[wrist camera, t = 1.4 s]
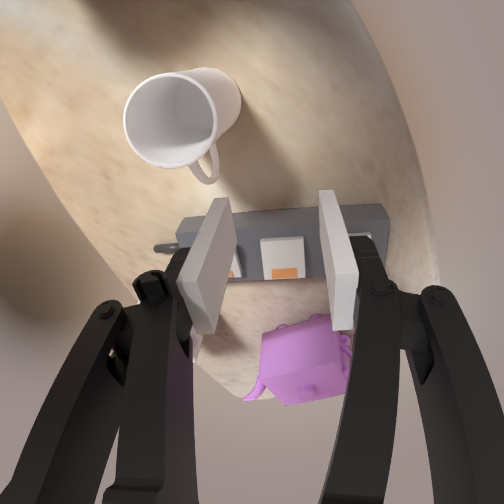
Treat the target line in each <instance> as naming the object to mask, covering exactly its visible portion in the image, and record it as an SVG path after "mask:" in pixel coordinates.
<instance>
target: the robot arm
mask: <svg viewBox="0 0 504 504" xmlns="http://www.w3.org/2000/svg"><path fill="white" fill-rule="evenodd" d="M318 198H319V224H320V241H321V247H322V253H323V260H324V267H325V274H326V281H327V288H328V296H329V304H330V312H331V321H332V330H333V331H338V330H351V329H353V321H354V326H355V334H354V340H353V346H352V355H351V362H350V368H349V374H348V380H347V386H346V391H345V397H344V402H343V407H342V412H341V417H340V422H339V426H338V431H337V435H336V440H335V444H334V448H333V452H332V456H331V460H330V464H329V468H328V471H327V475H326V479H325V483H324V486H323V489H322V493H321V496H320V499H319V503H318V504H383V502H384V496H385V491H386V486H387V481H388V475H389V470H390V464H391V457H392V451H393V443H394V435H395V426H396V416H397V404H398V390H399V371H400V349H403V350H405V352H406V355H407V359H408V363H409V366H410V370H411V374H412V378H413V382H414V386H415V390H416V395H417V399H418V404H419V408H420V413H421V418H422V423H423V427H424V432H425V438H426V444H427V450H428V457H429V463H430V470H431V478H432V486H433V496H434V504H504V414H503V411H502V408H501V405H500V402H499V399H498V396H497V393H496V390H495V387H494V384H493V382H492V379H491V376H490V374H489V371H488V369H487V366H486V363H485V361H484V359H483V356H482V354H481V351H480V349H479V346H478V344H477V342H476V340H475V337H474V335H473V333H472V331H471V329H470V327H469V325H468V322H467V320H466V318H465V316H464V314H463V312H462V310H461V308H460V306H459V304H458V302H457V300H456V298H455V296H454V295H453V294H452V292H451V291H449V290H448V289H446V288H445V287H442V286H437V285H431V286H428V287H426V288H425V289H423V290H422V293H421V295H418V294H411V293H406V292H403V291H400V290H398V287H397V285H396V284H395V283H394V282H393V281H391V280H389V279H388V277H387V274H386V271H385V269H384V266H383V263H382V261H381V258H380V257H379V253H378V251H377V248H376V246H375V243H374V241H373V240H371V239H370V238H369V237H368V236H367V235H362V236H348V233H347V230H346V227H345V224H344V220H343V217H342V214H341V211H340V208H339V205H338V202H337V199H336V196H335V193H334V190H333V189H328V190H318ZM236 245H237V237H236V232H235V227H234V222H233V217H232V212H231V207H230V202H229V197H225V198H215V199H214V200H213V202H212V204H211V207H210V209H209V211H208V213H207V215H206V217H205V219H204V221H203V223H202V225H201V227H200V230H199V232H198V234H197V236H196V238H195V240H194V243H193V245H192V247H185V248H180V249H179V250H178V251H177V252H176V253H175V254H174V255H173V257H172V259H171V260H170V264H168V266H167V270H165V272H163V271H160V270H151V271H147V272H145V273H143V274H141V275H139V276H138V277H137V278H136V279H135V280H134V282H133V284H132V285H133V287H134V290H135V292H136V294H137V296H138V298H139V300H140V304H137V305H134V306H129V307H125V308H123V306H122V305H121V303H120V302H119V301H117V300H108V301H105V302H103V303H101V304H100V305H99V306H97V308H96V309H95V310H94V311H93V313H92V315H91V316H90V318H89V320H88V321H87V323H86V325H85V326H84V328H83V330H82V331H81V333H80V335H79V337H78V338H77V340H76V342H75V344H74V345H73V347H72V349H71V351H70V353H69V355H68V356H67V358H66V360H65V362H64V364H63V365H62V368H61V369H60V371H59V373H58V375H57V377H56V379H55V381H54V383H53V385H52V387H51V389H50V391H49V393H48V395H47V397H46V399H45V401H44V403H43V405H42V407H41V409H40V411H39V414H38V416H37V418H36V420H35V422H34V425H33V427H32V429H31V431H30V434H29V436H28V438H27V441H26V443H25V446H24V448H23V450H22V453H21V455H20V458H19V461H18V463H17V466H16V468H15V471H14V474H13V477H12V480H11V481H10V483H9V484H8V485H7V486H6V488H5V489H4V490H3V492H2V493H1V494H0V504H94V502H95V499H96V496H97V492H98V489H99V486H100V483H101V479H102V476H103V473H104V470H105V467H106V464H107V460H108V458H109V455H110V452H111V448H112V446H113V443H114V440H115V437H116V434H117V431H118V428H119V437H118V448H117V462H116V477H115V482H114V484H113V485H111V486H110V487H108V488H107V489H106V490H105V492H104V494H103V500H102V504H199V501H198V491H197V477H196V460H195V439H194V411H193V340H192V337H191V335H190V331H191V328H192V325H193V327H194V329H195V332H196V334H215V330H216V326H217V322H218V318H219V314H220V310H221V306H222V301H223V297H224V293H225V289H226V285H227V281H228V277H229V273H230V269H231V265H232V261H233V257H234V253H235V249H236ZM111 349H112V350H113V351H114V352H113V354H112V355H111V356H109V353H110V351H111ZM119 426H120V427H119Z"/></svg>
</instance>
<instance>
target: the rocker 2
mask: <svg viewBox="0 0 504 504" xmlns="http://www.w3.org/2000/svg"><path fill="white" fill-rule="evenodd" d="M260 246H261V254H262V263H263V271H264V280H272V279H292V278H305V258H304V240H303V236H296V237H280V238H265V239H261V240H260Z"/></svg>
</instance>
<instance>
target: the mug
mask: <svg viewBox="0 0 504 504" xmlns="http://www.w3.org/2000/svg"><path fill="white" fill-rule="evenodd" d="M240 110H241V94H240V91H239V88H238V86H237V84H236V83H235V81H234V80H233V79H232V78H231V77H230V76H229V75H227V74H226V73H225V72H223V71H221V70H218V69H215V68H210V67H201V68H195V69H192V70H189V71H179V72H170V73H163V74H158V75H155V76H153V77H150V78H148V79H147V80H145V81H143V82H142V83H141V84H140V85H138V86H137V87H136V88H135V90H134V91H133V92H132V94H131V95H130V97H129V99H128V101H127V103H126V106H125V109H124V115H123V126H124V132H125V135H126V138H127V140H128V142H129V144H130V146H131V148H132V149H133V150H134V152H135V153H136V154H137V155H138V156H139V157H140V158H142V159H143V160H144V161H146V162H148V163H150V164H152V165H154V166H157V167H161V168H167V169H175V168H181V167H185V166H189V168H190V169H191V171H192V172H193V174H194V175H195V177H196V178H197V179H198V180H199V181H200V182H202V183H203V184H207V185H209V184H213V183H214V182H216V181H217V179H218V176H219V170H220V166H219V156H218V151H217V147H216V143H215V142H216V140H217V139H218V138H219V137H220V136H221V135H222V133H224V132H225V131H227V130H228V129H229V128H230V127H231V126H232V125H233V124H234V123H235V121H236V120H237V118H238V116H239V114H240ZM208 150H209V151H210V155H211V161H212V175H211V178H209V177H208V176H207V175H206V174H205V173H204V172H203V170H202V169H201V167H200V165H199V163H198V160H199V159H200V158H201V157H202V156H203V155H204V154H205V153H206V152H207V151H208Z"/></svg>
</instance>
